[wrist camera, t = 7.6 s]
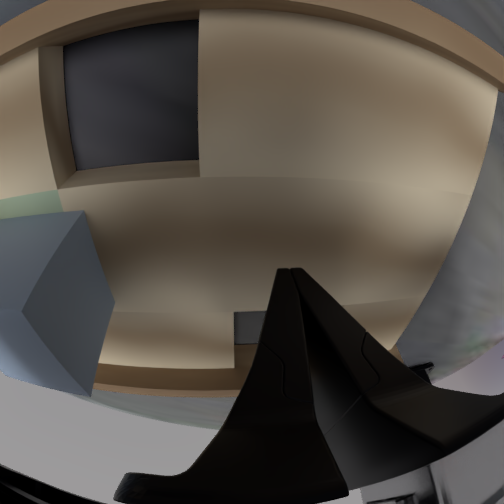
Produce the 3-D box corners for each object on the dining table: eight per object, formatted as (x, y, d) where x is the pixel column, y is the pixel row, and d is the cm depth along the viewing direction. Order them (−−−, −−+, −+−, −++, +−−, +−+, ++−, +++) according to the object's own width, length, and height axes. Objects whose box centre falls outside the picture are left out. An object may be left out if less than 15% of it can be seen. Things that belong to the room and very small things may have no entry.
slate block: (115, 302, 11) (90, 396, 7) (38, 298, 10) (5, 375, 7) (83, 210, 8) (21, 311, 5) (1, 219, 8) (-58, 297, 4)
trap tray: (383, 337, 18) (398, 372, 15) (75, 346, 16) (65, 383, 13) (481, 65, 7) (530, 80, 4) (-23, 66, 5) (-70, 82, 2)
